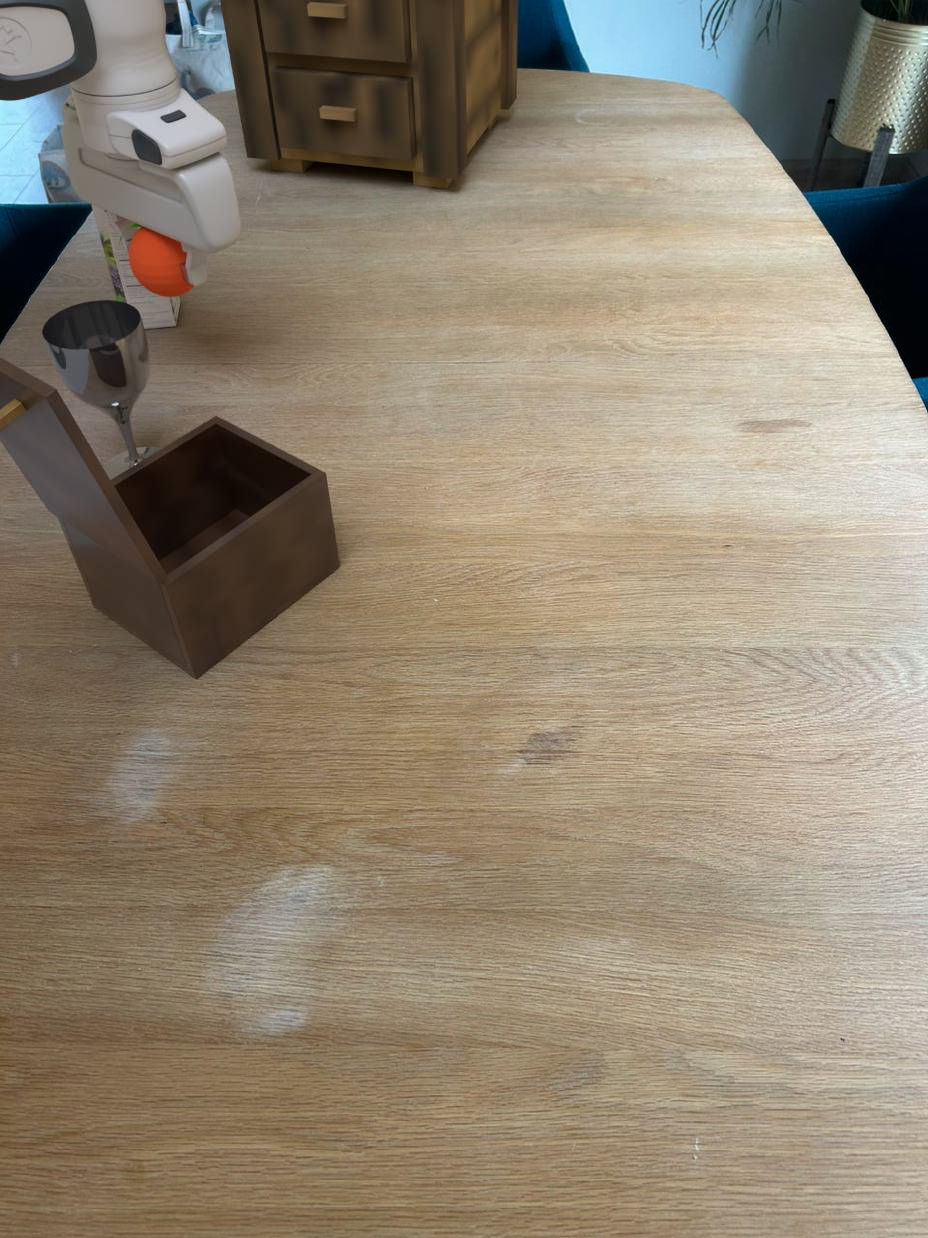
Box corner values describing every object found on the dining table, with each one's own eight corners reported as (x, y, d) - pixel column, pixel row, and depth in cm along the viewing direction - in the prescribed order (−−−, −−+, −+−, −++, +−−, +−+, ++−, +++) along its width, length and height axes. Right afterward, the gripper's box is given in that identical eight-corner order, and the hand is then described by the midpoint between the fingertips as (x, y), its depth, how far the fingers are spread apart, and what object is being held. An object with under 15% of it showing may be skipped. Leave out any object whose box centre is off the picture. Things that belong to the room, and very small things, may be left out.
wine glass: (141, 435, 97) (97, 291, 86) (199, 463, 93) (161, 316, 83) (76, 477, 92) (21, 331, 81) (135, 508, 89) (85, 360, 78)
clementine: (115, 306, 95) (96, 233, 90) (143, 272, 100) (126, 201, 95) (195, 312, 95) (180, 239, 90) (220, 278, 99) (206, 207, 94)
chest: (237, 507, 89) (215, 414, 82) (340, 566, 83) (326, 472, 76) (93, 606, 80) (55, 512, 73) (196, 679, 75) (165, 585, 68)
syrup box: (131, 305, 114) (95, 177, 104) (183, 301, 115) (152, 173, 104) (125, 331, 110) (86, 200, 100) (179, 327, 111) (146, 196, 100)
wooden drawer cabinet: (534, 110, 154) (542, -155, 130) (469, 206, 131) (464, -96, 107) (324, 92, 161) (295, -162, 138) (227, 179, 138) (173, -108, 115)
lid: (-69, 317, 60) (-137, 363, 58) (56, 388, 54) (-15, 442, 52) (57, 504, 73) (5, 547, 71) (168, 577, 68) (114, 625, 66)
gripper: (29, 98, 88) (73, 249, 98) (180, 154, 79) (212, 314, 89) (88, 80, 92) (125, 227, 102) (239, 131, 83) (263, 287, 93)
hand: (166, 268), depth 96 cm, fingers closed on clementine, 7 cm apart
